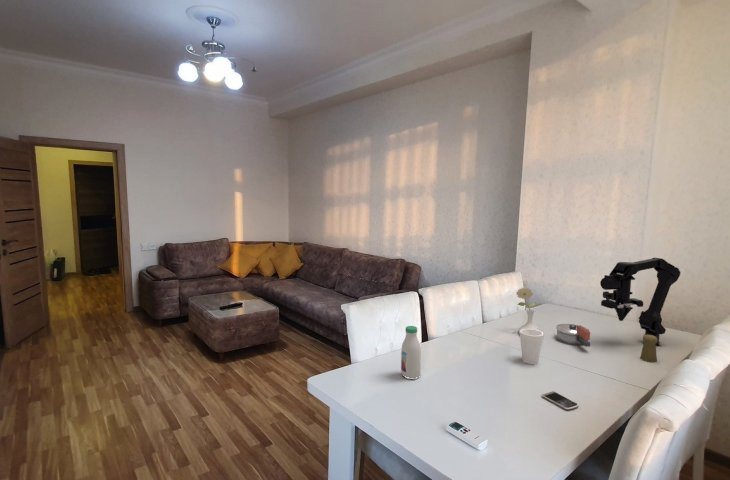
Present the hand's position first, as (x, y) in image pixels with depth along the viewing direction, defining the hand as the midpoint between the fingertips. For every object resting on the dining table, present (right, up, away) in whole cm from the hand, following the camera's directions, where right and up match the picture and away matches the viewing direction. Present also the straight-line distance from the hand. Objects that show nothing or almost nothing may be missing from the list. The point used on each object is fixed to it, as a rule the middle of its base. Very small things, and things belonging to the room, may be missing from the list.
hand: (620, 320), depth 183 cm
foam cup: (-51, -14, -17) cm, 55 cm away
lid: (-19, -7, +3) cm, 21 cm away
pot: (-19, -12, +6) cm, 23 cm away
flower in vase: (-38, -11, +17) cm, 43 cm away
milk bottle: (-105, -16, -30) cm, 110 cm away
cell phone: (-55, -18, -50) cm, 77 cm away
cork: (+2, -14, -15) cm, 21 cm away
